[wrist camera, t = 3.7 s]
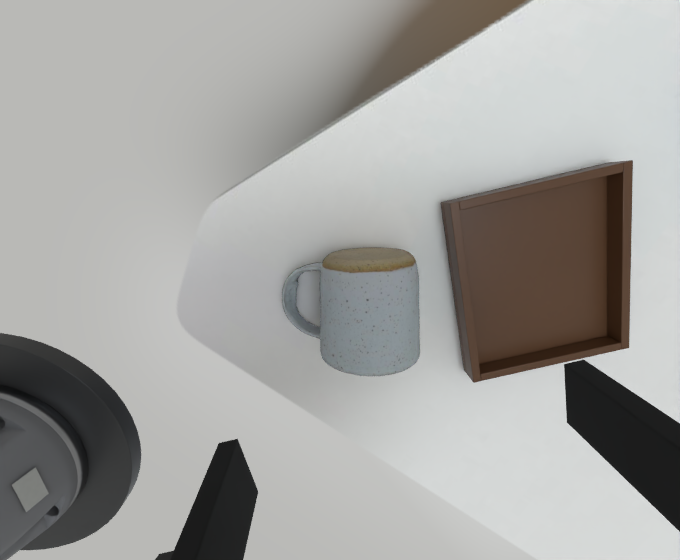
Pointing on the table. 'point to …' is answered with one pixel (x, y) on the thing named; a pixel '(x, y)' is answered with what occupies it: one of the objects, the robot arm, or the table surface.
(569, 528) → the table surface
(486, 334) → the brown tray
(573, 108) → the table surface
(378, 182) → the table surface
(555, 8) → the table surface
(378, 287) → the ceramic mug
